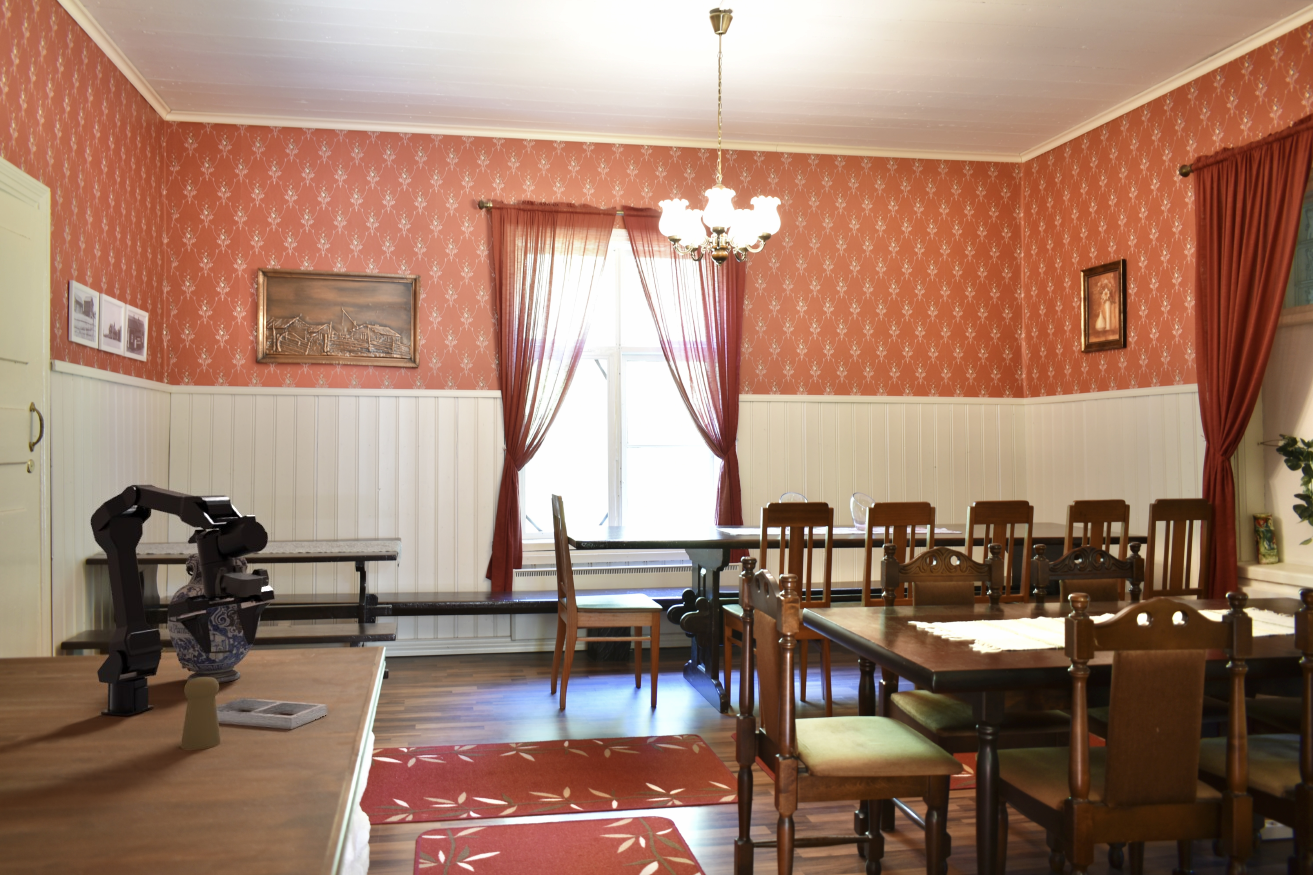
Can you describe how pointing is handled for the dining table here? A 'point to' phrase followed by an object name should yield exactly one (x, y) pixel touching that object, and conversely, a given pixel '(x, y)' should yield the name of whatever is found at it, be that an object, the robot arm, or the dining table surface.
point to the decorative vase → (222, 628)
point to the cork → (201, 714)
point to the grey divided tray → (269, 713)
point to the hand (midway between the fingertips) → (230, 648)
